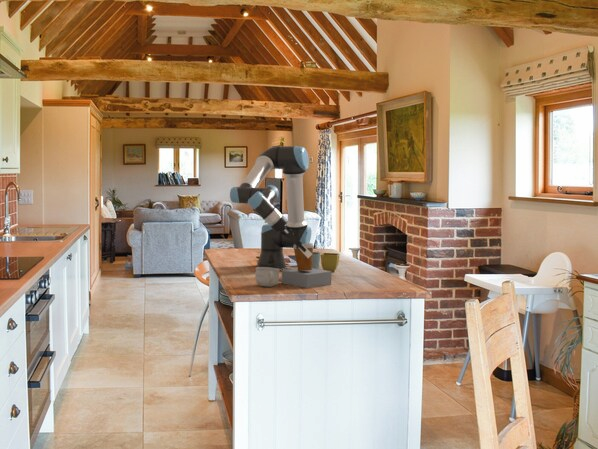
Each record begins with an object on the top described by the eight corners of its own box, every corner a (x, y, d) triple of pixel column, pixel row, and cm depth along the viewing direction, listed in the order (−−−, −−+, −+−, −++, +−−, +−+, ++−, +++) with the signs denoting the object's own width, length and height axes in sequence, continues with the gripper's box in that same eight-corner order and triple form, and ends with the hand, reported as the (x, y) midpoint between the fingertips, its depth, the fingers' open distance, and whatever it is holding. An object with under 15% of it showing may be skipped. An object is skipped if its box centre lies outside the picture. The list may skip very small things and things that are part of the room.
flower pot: (336, 272, 335) (337, 255, 334) (319, 272, 337) (320, 254, 336) (339, 270, 344) (339, 253, 343) (322, 269, 345) (323, 252, 345)
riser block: (281, 283, 299) (281, 270, 299) (305, 279, 311) (305, 267, 310) (307, 288, 288) (307, 274, 288) (331, 284, 300) (331, 271, 299)
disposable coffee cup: (318, 269, 298) (316, 243, 300) (312, 269, 289) (310, 242, 290) (298, 271, 301) (296, 245, 302) (291, 271, 292) (289, 244, 293)
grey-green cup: (305, 279, 312) (305, 254, 311) (295, 276, 321) (296, 251, 320) (323, 278, 317) (324, 253, 316) (313, 275, 326) (314, 251, 325)
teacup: (254, 283, 297) (255, 266, 296) (278, 283, 298) (279, 266, 297) (255, 289, 283) (255, 270, 282) (280, 289, 284) (281, 271, 283)
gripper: (268, 224, 308) (299, 256, 311) (272, 229, 283) (305, 263, 286) (279, 213, 308) (310, 245, 311) (284, 216, 283) (318, 251, 286)
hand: (308, 254), depth 299 cm, fingers open, 13 cm apart
